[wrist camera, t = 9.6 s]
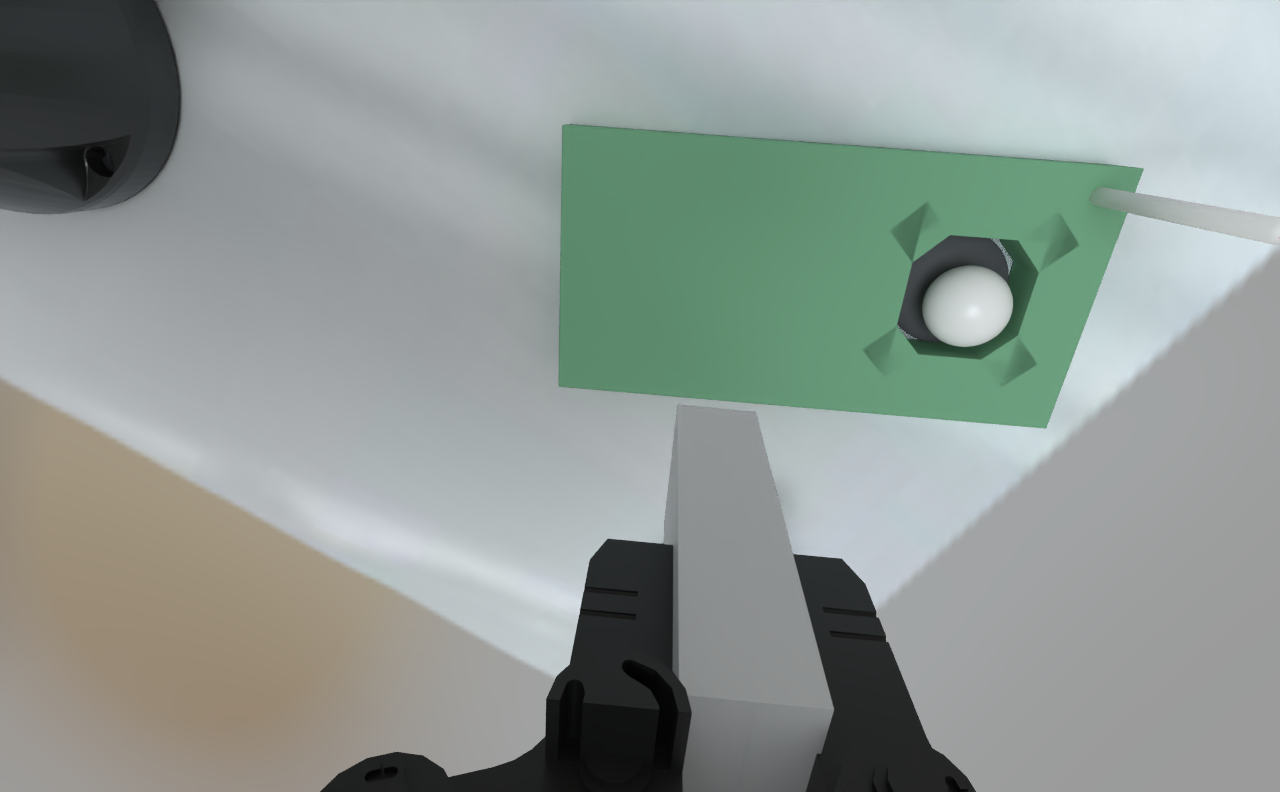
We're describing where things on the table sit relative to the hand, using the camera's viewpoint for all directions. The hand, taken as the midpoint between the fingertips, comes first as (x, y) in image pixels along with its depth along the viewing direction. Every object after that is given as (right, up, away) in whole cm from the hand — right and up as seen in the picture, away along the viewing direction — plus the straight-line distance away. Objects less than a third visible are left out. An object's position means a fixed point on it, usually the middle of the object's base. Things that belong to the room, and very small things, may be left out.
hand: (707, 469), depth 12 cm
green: (+9, +8, +21) cm, 24 cm away
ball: (+15, +6, +19) cm, 25 cm away
